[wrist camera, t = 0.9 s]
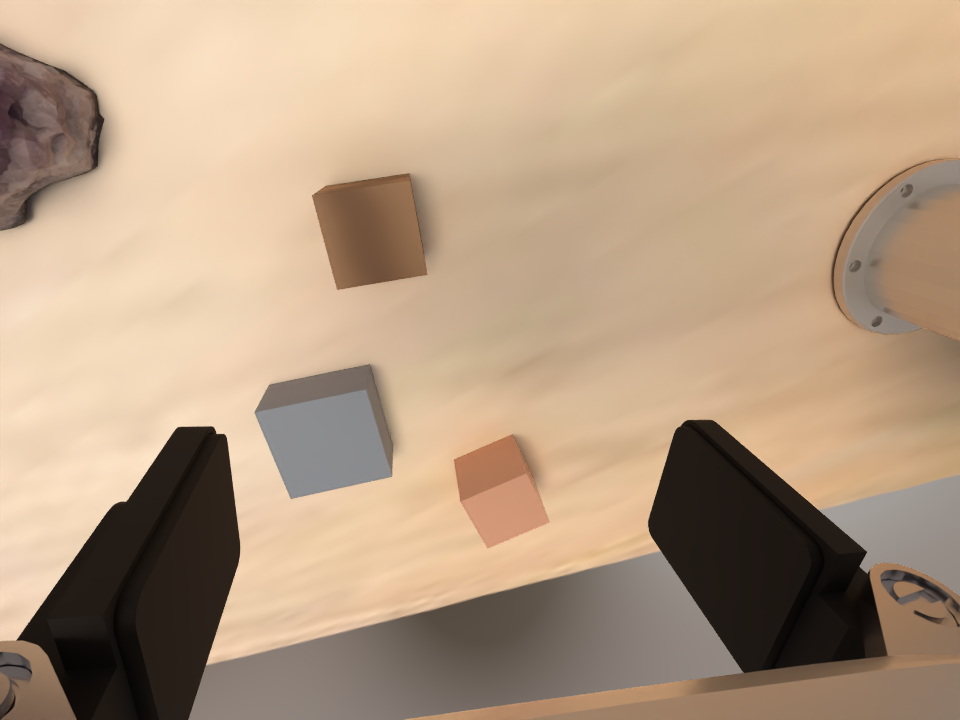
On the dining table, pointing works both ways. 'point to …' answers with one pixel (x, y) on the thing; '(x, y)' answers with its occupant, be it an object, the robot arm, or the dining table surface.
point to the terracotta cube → (499, 492)
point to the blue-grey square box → (326, 431)
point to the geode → (41, 131)
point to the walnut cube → (371, 231)
